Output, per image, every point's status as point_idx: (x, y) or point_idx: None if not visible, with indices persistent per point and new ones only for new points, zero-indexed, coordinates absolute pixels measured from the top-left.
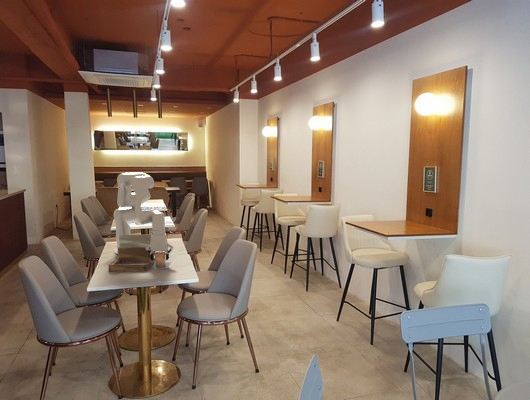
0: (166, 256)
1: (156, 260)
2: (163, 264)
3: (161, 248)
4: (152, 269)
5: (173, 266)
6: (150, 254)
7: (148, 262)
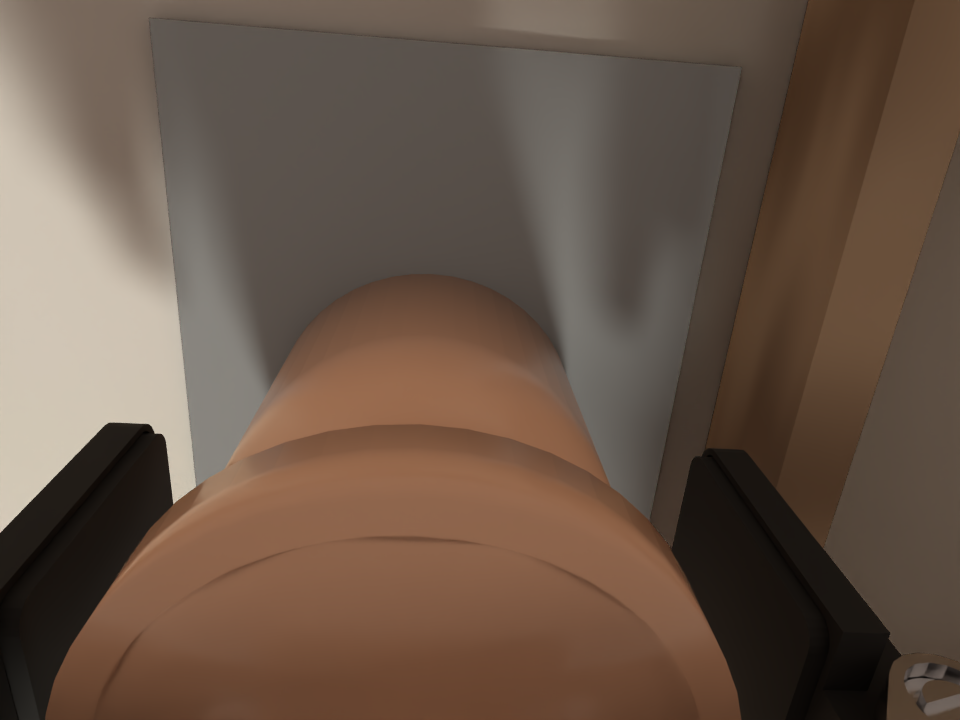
0: (36, 524)
1: (550, 397)
2: (301, 345)
3: None
4: (631, 58)
5: (8, 323)
6: (943, 658)
7: (834, 397)
